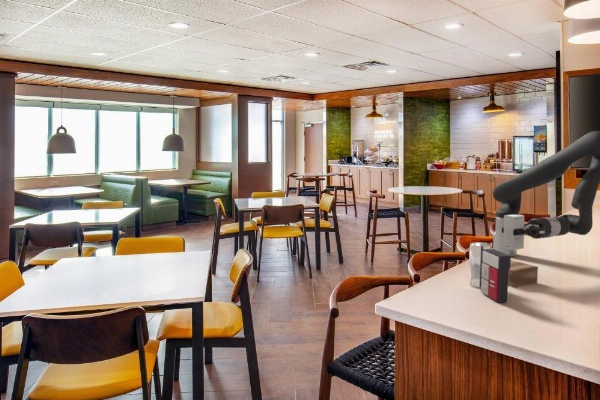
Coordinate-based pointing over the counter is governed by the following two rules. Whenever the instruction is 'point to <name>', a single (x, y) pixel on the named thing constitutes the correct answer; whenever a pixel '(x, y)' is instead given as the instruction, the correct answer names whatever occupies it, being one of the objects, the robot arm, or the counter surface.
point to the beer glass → (476, 262)
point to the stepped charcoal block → (495, 274)
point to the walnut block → (522, 274)
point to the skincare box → (510, 239)
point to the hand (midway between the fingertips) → (508, 231)
